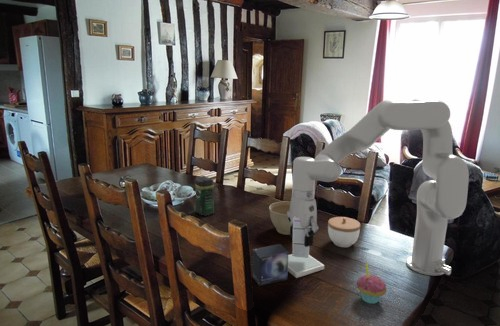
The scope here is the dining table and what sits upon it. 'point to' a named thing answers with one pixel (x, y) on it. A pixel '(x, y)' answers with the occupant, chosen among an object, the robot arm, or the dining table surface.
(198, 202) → the coffee jar
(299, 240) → the syrup box
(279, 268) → the small box
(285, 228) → the planter bowl
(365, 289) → the cupcake
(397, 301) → the dining table surface
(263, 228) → the dining table surface
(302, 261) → the plate
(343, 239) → the lidded bowl
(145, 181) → the dining table surface
